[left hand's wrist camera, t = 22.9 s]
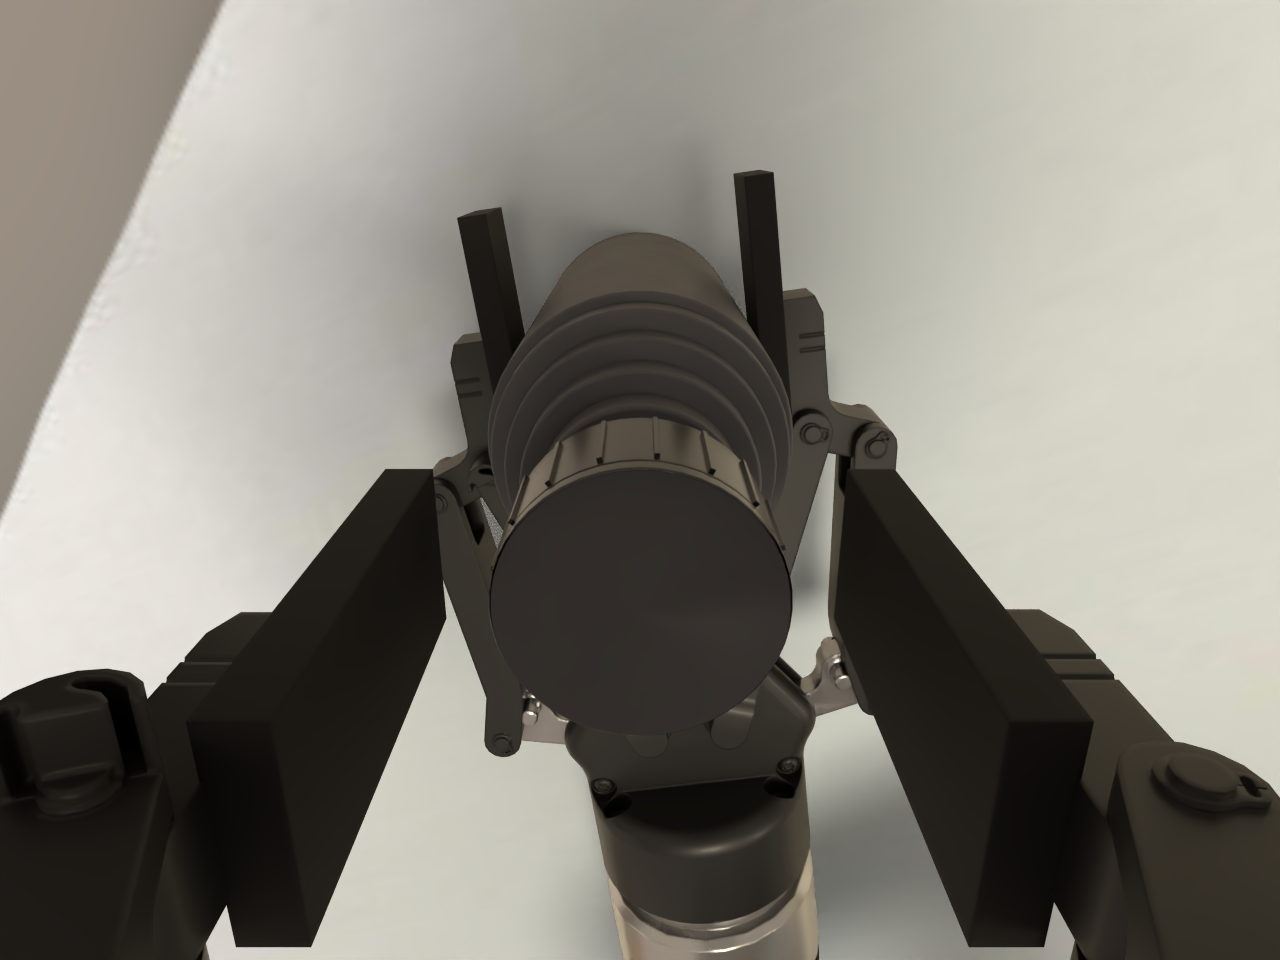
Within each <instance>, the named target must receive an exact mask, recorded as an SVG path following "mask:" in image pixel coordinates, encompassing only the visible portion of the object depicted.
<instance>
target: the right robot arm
mask: <svg viewBox="0 0 1280 960" xmlns="http://www.w3.org/2000/svg"><path fill="white" fill-rule="evenodd" d="M734 184H735V195H736V206H737V216H738V227H739V238H740V249H741V260H742V271H743V281H744V292H745V303H746V314H747V322H748V324H749V325H750V327H751V329H752V330H753V332H754V333H755V335H756V337H757V338H758V340H759V341H760V343H761V345H762V346H763V348H764V350H765V351H766V353H767V354H768V356H769V358H770V359H771V361H772V363H773V364H774V366H775V368H776V370H777V372H778V374H779V376H780V378H781V380H782V383H783V385H784V388H785V391H786V394H787V397H788V400H789V405H790V410H791V415H792V425H793V446H792V456H791V461H790V466H789V471H788V475H787V479H786V484H785V488H784V490H783V493H782V496H781V499H780V502H779V504H778V506H777V508H776V510H775V512H774V517H775V520H776V523H777V525H778V528H779V531H780V534H781V536H782V539H783V542H784V544H785V547H786V550H784V551H782V552H783V554H784V557H785V561H786V564H787V567H788V570H789V573H790V575H791V571H792V568H793V565H794V562H795V558H796V555H797V552H798V548H799V545H800V542H801V539H802V535H803V532H804V529H805V526H806V522H807V519H808V516H809V513H810V509H811V506H812V503H813V500H814V496H815V493H816V490H817V487H818V483H819V480H820V477H821V474H822V470H823V467H824V464H825V461H826V457H827V454H828V453H832V454H836V465H835V483H834V502H833V520H832V539H831V557H830V576H829V594H828V617H829V624H830V629H831V632H832V635H833V637H827V638H825V639H823V640H822V642H821V646H820V647H819V648H818V650H817V653H816V666H815V669H814V670H813V672H812V673H811V674H810V675H808V676H806V677H804V678H802V677H801V676H800V675H799V674H798V673H797V672H795V671H794V670H793V669H792V668H791V667H790V666H789V665H788V664H787V663H786V662H785V661H784V660H783V659H782V658H781V657H780V656H779V658H778V660H777V661H776V663H775V665H774V666H773V668H772V669H771V671H770V672H769V674H768V675H767V677H766V678H765V679H764V680H763V681H762V683H761V684H760V685H759V686H758V687H757V688H756V689H755V690H754V691H753V692H752V693H751V694H750V695H749V696H748V697H747V698H746V699H745V700H743V701H742V702H741V703H739V704H738V705H736V706H735V707H734V708H732V709H731V710H729V711H728V712H726V713H724V714H722V715H721V716H719V717H717V718H715V719H713V720H711V721H709V722H706V723H704V724H701V725H699V726H696V727H693V728H690V729H686V730H683V731H679V732H674V733H668V734H662V735H648V736H633V735H620V734H614V733H608V732H602V731H599V730H595V729H592V728H588V727H585V726H583V725H580V724H578V723H575V722H573V721H570V720H568V719H566V718H564V717H563V716H561V715H559V714H557V713H555V712H553V711H552V710H551V709H549V708H548V707H546V706H545V705H544V704H542V703H541V702H539V701H538V700H537V699H536V698H535V697H534V696H533V695H531V694H530V693H529V692H528V691H527V690H526V689H525V688H524V687H523V686H522V684H521V683H520V682H519V681H518V680H517V679H516V677H515V676H514V675H513V673H512V672H511V670H510V669H509V667H508V666H507V664H506V662H505V661H504V659H503V657H502V655H501V653H500V650H499V648H498V646H497V644H496V641H495V637H494V634H493V631H492V627H491V621H490V614H489V588H490V582H491V575H492V572H493V571H490V569H491V565H492V562H493V559H494V556H495V554H496V551H497V548H496V545H495V542H494V539H493V536H492V533H491V530H490V527H489V524H488V521H487V518H486V515H485V512H484V509H483V506H482V503H481V501H480V498H481V497H482V498H483V499H484V501H485V503H486V504H487V506H488V507H489V509H490V510H491V512H492V514H493V515H494V517H495V518H496V520H497V521H498V523H499V525H500V526H501V528H502V529H503V531H504V528H505V526H506V523H507V520H508V518H509V516H508V514H507V512H506V510H505V508H504V506H503V504H502V502H501V499H500V496H499V493H498V490H497V488H496V485H495V480H494V475H493V472H492V466H491V461H490V456H489V447H488V425H489V414H490V409H491V405H492V400H493V396H494V393H495V391H496V388H497V385H498V383H499V380H500V378H501V376H502V374H503V372H504V370H505V368H506V366H507V365H508V363H509V361H510V359H511V358H512V356H513V354H514V353H515V351H516V349H517V348H518V346H519V345H520V343H521V341H522V340H523V338H524V336H525V333H524V328H523V323H522V317H521V312H520V307H519V301H518V296H517V290H516V285H515V280H514V274H513V269H512V263H511V258H510V253H509V247H508V242H507V236H506V231H505V226H504V220H503V215H502V209H501V207H499V208H493V209H486V210H479V211H474V212H472V213H469V214H466V215H464V216H461V217H458V218H457V220H458V224H459V229H460V234H461V239H462V244H463V249H464V254H465V259H466V264H467V269H468V274H469V278H470V283H471V288H472V293H473V298H474V303H475V308H476V313H477V318H478V323H479V328H480V333H473V334H466V335H463V336H462V337H461V338H460V339H459V340H458V341H457V342H456V343H455V344H454V346H453V352H452V357H451V368H452V372H453V377H454V381H455V386H456V391H457V395H458V400H459V404H460V409H461V413H462V418H463V423H464V427H465V432H466V436H467V442H468V449H466V450H465V451H463V452H461V453H459V454H458V455H456V456H454V457H446V458H444V459H442V460H440V461H439V462H438V463H437V464H436V465H435V467H434V469H433V476H434V487H435V498H436V510H437V521H438V532H439V543H440V554H441V565H442V576H443V581H444V583H445V586H446V589H447V592H448V594H449V597H450V600H451V602H452V605H453V608H454V611H455V613H456V616H457V619H458V621H459V624H460V627H461V630H462V632H463V635H464V638H465V641H466V643H467V646H468V649H469V651H470V654H471V657H472V660H473V662H474V665H475V668H476V671H477V673H478V676H479V679H480V681H481V684H482V687H483V690H484V692H485V695H486V698H487V700H486V719H485V738H484V741H485V746H486V748H487V749H488V751H489V752H491V753H492V754H494V755H496V756H500V757H509V756H511V755H513V754H515V753H516V752H517V751H518V750H519V748H520V745H521V740H523V741H534V742H545V743H557V744H565V745H566V748H567V750H568V752H569V754H570V755H571V757H572V758H573V759H574V760H575V761H576V762H577V763H578V764H579V765H580V766H581V767H582V769H583V770H584V772H585V774H586V776H587V779H588V783H589V788H590V793H591V798H592V803H593V808H594V813H595V818H596V823H597V828H598V833H599V838H600V843H601V848H602V853H603V859H604V864H605V868H606V870H607V873H608V886H609V891H610V895H611V900H612V905H613V910H614V915H615V919H616V924H617V929H618V934H619V939H620V944H621V948H622V953H623V958H624V960H819V945H818V938H819V930H818V919H817V908H816V898H815V887H814V877H813V866H812V856H811V851H810V829H809V817H808V805H807V793H806V782H805V770H804V758H803V752H804V746H805V743H806V741H807V739H808V737H809V735H810V733H811V732H812V730H813V727H814V725H815V719H816V716H820V715H823V714H826V713H829V712H832V711H835V710H838V709H841V708H844V707H847V706H850V705H854V704H857V703H858V704H859V706H860V708H861V709H862V711H863V712H865V713H866V714H868V715H873V713H872V710H871V708H870V706H869V703H868V701H867V698H866V696H865V693H864V691H863V689H862V686H861V684H860V681H859V679H858V676H857V674H856V672H855V669H854V667H853V664H852V662H851V659H850V657H849V655H848V652H847V650H846V647H845V645H844V642H843V640H842V638H841V635H840V633H839V630H838V628H837V625H836V623H835V621H834V609H835V598H836V587H837V576H838V565H839V554H840V543H841V532H842V521H843V510H844V498H845V487H846V476H847V469H895V470H896V458H897V439H896V437H895V436H894V434H893V433H892V432H891V430H890V429H889V428H888V427H887V426H886V425H885V424H884V423H883V421H882V420H881V419H880V418H879V417H878V416H877V415H876V414H875V412H874V411H873V410H872V409H871V408H869V407H868V406H866V405H861V404H856V405H846V404H841V403H837V402H834V401H831V400H830V399H829V395H828V383H827V367H826V350H825V335H824V318H823V311H822V309H821V307H820V305H819V303H818V301H817V299H816V297H815V295H813V294H812V293H811V292H810V291H809V290H807V289H806V288H803V289H796V290H788V291H783V290H782V277H781V264H780V251H779V238H778V225H777V212H776V199H775V186H774V173H773V172H768V171H763V170H756V171H749V172H742V173H735V174H734ZM873 716H874V715H873Z"/></svg>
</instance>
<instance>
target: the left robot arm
mask: <svg viewBox="0 0 1280 960" xmlns="http://www.w3.org/2000/svg"><path fill="white" fill-rule="evenodd" d="M445 620H446V609H445V598H444V587H443V576H442V565H441V554H440V543H439V532H438V521H437V510H436V498H435V487H434V476H433V469H385V470H384V472H383V473H382V474H381V476H380V477H379V478H378V479H377V481H376V482H375V483H374V484H373V486H372V487H371V488H370V489H369V491H368V492H367V493H366V494H365V496H364V497H363V498H362V499H361V501H360V502H359V503H358V505H357V506H356V507H355V508H354V510H353V511H352V512H351V513H350V515H349V516H348V517H347V518H346V520H345V521H344V522H343V523H342V525H341V526H340V527H339V529H338V530H337V531H336V532H335V534H334V535H333V536H332V537H331V539H330V540H329V541H328V542H327V544H326V545H325V546H324V547H323V549H322V550H321V551H320V552H319V554H318V555H317V556H316V558H315V559H314V560H313V561H312V563H311V564H310V565H309V566H308V568H307V569H306V570H305V571H304V573H303V574H302V575H301V576H300V578H299V579H298V580H297V582H296V583H295V584H294V585H293V587H292V588H291V589H290V590H289V592H288V593H287V594H286V595H285V597H284V598H283V599H282V600H281V602H280V603H279V604H278V606H277V607H276V608H275V609H274V611H273V612H241V613H239V614H237V615H236V616H234V617H232V618H231V619H229V620H227V621H226V622H224V623H222V624H221V625H219V626H217V627H216V628H214V629H212V630H211V631H209V632H208V633H206V634H205V635H204V636H203V638H202V639H201V640H200V641H199V642H198V643H197V644H196V645H195V647H194V648H193V649H192V650H191V651H190V652H189V653H188V654H187V655H186V657H185V661H184V662H180V663H179V664H178V666H177V667H176V668H175V669H174V670H173V671H172V672H171V673H170V674H169V676H168V677H167V681H166V683H161V685H160V686H159V687H158V688H157V689H156V690H155V691H154V692H153V694H152V695H151V696H150V697H149V698H148V699H147V696H146V691H145V687H144V683H143V681H141V680H140V679H138V678H137V677H136V676H134V675H133V674H131V673H130V672H124V671H118V670H112V669H96V670H83V671H75V672H71V673H67V674H63V675H59V676H55V677H51V678H47V679H44V680H41V681H39V682H36V683H34V684H32V685H29V686H27V687H24V688H22V689H19V690H17V691H14V692H13V693H11V694H9V695H8V696H6V697H5V698H3V699H1V700H0V960H210V959H209V955H208V951H207V947H206V942H207V940H208V938H209V936H210V934H211V932H212V931H213V929H214V927H215V925H216V923H217V921H218V920H219V918H220V916H221V914H222V912H223V910H224V909H225V907H226V905H227V909H228V913H229V918H230V922H231V927H232V931H233V936H234V940H235V945H236V947H311V946H312V944H313V941H314V939H315V936H316V934H317V931H318V929H319V927H320V924H321V922H322V919H323V917H324V914H325V912H326V910H327V907H328V905H329V902H330V900H331V897H332V895H333V893H334V890H335V888H336V885H337V883H338V880H339V878H340V876H341V873H342V871H343V868H344V866H345V863H346V861H347V859H348V856H349V854H350V851H351V849H352V846H353V844H354V842H355V839H356V837H357V834H358V832H359V829H360V827H361V825H362V822H363V820H364V817H365V815H366V812H367V810H368V808H369V805H370V803H371V800H372V798H373V795H374V793H375V791H376V788H377V786H378V783H379V781H380V778H381V776H382V774H383V771H384V769H385V766H386V764H387V761H388V759H389V757H390V754H391V752H392V749H393V747H394V744H395V742H396V740H397V737H398V735H399V732H400V730H401V727H402V725H403V723H404V720H405V718H406V715H407V713H408V710H409V708H410V706H411V703H412V701H413V698H414V696H415V693H416V691H417V689H418V686H419V684H420V681H421V679H422V676H423V674H424V672H425V669H426V667H427V664H428V662H429V659H430V657H431V655H432V652H433V650H434V647H435V645H436V642H437V640H438V638H439V635H440V633H441V630H442V628H443V625H444V623H445ZM834 621H835V623H836V625H837V628H838V630H839V633H840V635H841V638H842V640H843V642H844V645H845V647H846V650H847V652H848V655H849V657H850V659H851V662H852V664H853V667H854V669H855V672H856V674H857V676H858V679H859V681H860V684H861V686H862V689H863V691H864V693H865V696H866V698H867V701H868V703H869V706H870V708H871V710H872V713H873V715H874V718H875V720H876V723H877V725H878V727H879V730H880V732H881V735H882V737H883V740H884V742H885V744H886V747H887V749H888V752H889V754H890V757H891V759H892V761H893V764H894V766H895V769H896V771H897V774H898V776H899V778H900V781H901V783H902V786H903V788H904V791H905V793H906V795H907V798H908V800H909V803H910V805H911V808H912V810H913V812H914V815H915V817H916V820H917V822H918V825H919V827H920V829H921V832H922V834H923V837H924V839H925V842H926V844H927V846H928V849H929V851H930V854H931V856H932V859H933V861H934V863H935V866H936V868H937V871H938V873H939V876H940V878H941V880H942V883H943V885H944V888H945V890H946V893H947V895H948V897H949V900H950V902H951V905H952V907H953V910H954V912H955V914H956V917H957V919H958V922H959V924H960V927H961V929H962V931H963V934H964V936H965V939H966V941H967V944H968V946H969V947H1044V945H1045V940H1046V936H1047V931H1048V927H1049V922H1050V918H1051V913H1052V909H1053V904H1054V902H1055V904H1056V906H1057V908H1058V910H1059V911H1060V913H1061V915H1062V917H1063V919H1064V920H1065V922H1066V924H1067V926H1068V928H1069V930H1070V931H1071V933H1072V935H1073V937H1074V939H1075V942H1074V947H1073V951H1072V955H1071V959H1070V960H1280V797H1279V796H1278V795H1277V794H1276V792H1275V791H1274V790H1273V788H1272V787H1271V786H1270V785H1269V784H1268V783H1267V782H1266V781H1264V780H1263V779H1262V778H1260V777H1259V776H1258V775H1256V774H1255V773H1253V772H1252V771H1251V770H1249V769H1248V768H1247V767H1245V766H1244V765H1242V764H1240V763H1237V762H1235V761H1233V760H1231V759H1229V758H1227V757H1225V756H1223V755H1221V754H1218V753H1216V752H1214V751H1211V750H1207V749H1204V748H1200V747H1197V746H1193V745H1190V744H1186V743H1181V742H1174V741H1173V739H1172V738H1171V737H1170V736H1169V735H1168V734H1167V733H1166V732H1165V731H1164V729H1163V728H1162V727H1161V726H1160V725H1159V724H1158V723H1157V722H1156V721H1155V719H1154V718H1153V717H1152V716H1151V715H1150V714H1149V713H1148V712H1147V711H1146V709H1145V708H1144V707H1143V706H1142V705H1141V704H1140V703H1139V702H1138V701H1137V700H1136V698H1135V697H1134V696H1133V695H1132V694H1131V693H1130V692H1129V691H1128V690H1127V688H1126V687H1125V686H1124V685H1123V684H1122V683H1121V682H1120V681H1119V680H1115V679H1114V674H1113V673H1112V672H1111V671H1110V670H1109V668H1108V667H1107V666H1106V665H1105V664H1104V663H1103V662H1102V661H1101V660H1100V659H1096V654H1095V653H1094V652H1093V651H1092V650H1091V648H1090V647H1089V646H1088V645H1087V644H1086V643H1085V642H1084V641H1083V640H1082V638H1081V637H1080V636H1079V635H1078V634H1077V633H1076V632H1075V631H1074V630H1073V629H1071V628H1070V627H1068V626H1066V625H1065V624H1063V623H1061V622H1060V621H1058V620H1056V619H1055V618H1053V617H1051V616H1050V615H1048V614H1046V613H1045V612H1043V611H1041V610H1039V609H1005V608H1004V607H1003V606H1002V604H1001V603H1000V602H999V600H998V599H997V598H996V597H995V595H994V594H993V593H992V592H991V590H990V589H989V588H988V587H987V585H986V584H985V583H984V582H983V580H982V579H981V578H980V576H979V575H978V574H977V573H976V571H975V570H974V569H973V568H972V566H971V565H970V564H969V563H968V561H967V560H966V559H965V558H964V556H963V555H962V554H961V552H960V551H959V550H958V549H957V547H956V546H955V545H954V544H953V542H952V541H951V540H950V539H949V537H948V536H947V535H946V534H945V532H944V531H943V530H942V529H941V527H940V526H939V525H938V523H937V522H936V521H935V520H934V518H933V517H932V516H931V515H930V513H929V512H928V511H927V510H926V508H925V507H924V506H923V505H922V503H921V502H920V501H919V499H918V498H917V497H916V496H915V494H914V493H913V492H912V491H911V489H910V488H909V487H908V486H907V484H906V483H905V482H904V481H903V479H902V478H901V477H900V476H899V474H898V473H897V472H896V470H895V469H847V476H846V487H845V498H844V510H843V521H842V532H841V543H840V554H839V565H838V576H837V587H836V598H835V609H834Z"/></svg>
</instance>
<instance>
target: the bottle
mask: <svg viewBox="0 0 1280 960" xmlns="http://www.w3.org/2000/svg"><path fill="white" fill-rule="evenodd" d="M653 416H654V417H658V419H662V420H668V421H673V422H677V423H680V424H683V425H686V426H689V427H693V428H695V429H697V430H699V431H701V432H702V430H704V431H706V432H707V433H708V435H709V436H711V437H712V438H714V439H715V440H717V441H718V442H720V443H722V444H723V445H724V446H725V447H727V448H728V449H729V450H730V451H731V452H732V453H734V454H735V455H736V456H737V457H738V458H739V460H740V461H741V460H742V459H744V461H745V462H746V464H747V467H748V470H749V472H750V473H751V475H752V476H753V478H754V479H755V481H756V483H757V485H758V487H759V489H760V491H761V493H762V495H763V498H764V500H767V499H768V501H769V503H770V506H771V509H772V512H773V514H774V512H775V510H776V508H777V506H778V504H779V502H780V499H781V496H782V493H783V490H784V488H785V484H786V479H787V475H788V471H789V466H790V461H791V456H792V446H793V425H792V415H791V410H790V405H789V400H788V397H787V394H786V391H785V388H784V385H783V383H782V380H781V378H780V376H779V374H778V372H777V370H776V368H775V366H774V364H773V363H772V361H771V359H770V358H769V356H768V354H767V353H766V351H765V350H764V348H763V346H762V345H761V343H760V341H759V340H758V338H757V337H756V335H755V333H754V332H753V330H752V329H751V327H750V325H749V324H748V322H747V320H746V319H745V317H744V316H743V314H742V312H741V311H740V309H739V307H738V306H737V304H736V303H735V301H734V299H733V298H732V296H731V295H730V293H729V291H728V290H727V288H726V286H725V285H724V283H723V282H722V280H721V278H720V277H719V275H718V274H717V273H716V271H715V270H714V268H713V267H712V266H711V265H710V264H709V263H708V262H707V261H706V259H705V258H704V257H702V256H701V255H700V254H699V253H697V252H696V251H695V250H694V249H692V248H690V247H689V246H687V245H685V244H684V243H682V242H679V241H677V240H675V239H673V238H670V237H666V236H662V235H658V234H651V233H629V234H622V235H618V236H615V237H611V238H608V239H606V240H603V241H601V242H599V243H597V244H595V245H593V246H592V247H590V248H588V249H587V250H586V251H584V252H583V253H582V254H581V255H579V256H578V257H577V258H576V259H575V260H574V261H573V262H572V263H571V264H570V265H569V267H568V268H567V269H566V271H565V272H564V273H563V275H562V276H561V278H560V279H559V281H558V283H557V284H556V286H555V288H554V289H553V291H552V292H551V294H550V296H549V297H548V299H547V301H546V302H545V304H544V305H543V307H542V309H541V310H540V312H539V314H538V315H537V317H536V318H535V320H534V322H533V323H532V325H531V327H530V328H529V330H528V332H527V333H526V335H525V336H524V338H523V340H522V341H521V343H520V345H519V346H518V348H517V349H516V351H515V353H514V354H513V356H512V358H511V359H510V361H509V363H508V365H507V366H506V368H505V370H504V372H503V374H502V376H501V378H500V380H499V383H498V385H497V388H496V391H495V393H494V396H493V400H492V405H491V409H490V414H489V425H488V447H489V456H490V461H491V466H492V472H493V475H494V480H495V485H496V488H497V490H498V493H499V496H500V499H501V502H502V504H503V506H504V508H505V510H506V512H507V514H508V516H509V517H510V514H511V512H512V509H513V506H514V503H515V500H516V497H517V495H518V492H519V489H520V486H521V483H522V480H523V478H524V477H525V475H526V476H528V477H529V475H530V474H531V472H532V471H533V469H534V468H535V467H536V466H537V464H538V463H539V462H540V461H541V460H542V459H543V458H544V456H545V455H547V454H548V453H549V452H550V451H551V450H552V449H554V448H555V444H556V443H557V442H558V441H560V442H563V441H564V440H566V439H567V438H569V437H571V436H572V435H574V434H576V433H578V432H580V431H582V430H584V429H587V428H589V427H592V426H595V425H598V424H601V421H604V420H606V421H607V422H609V421H614V420H619V419H627V418H653Z"/></svg>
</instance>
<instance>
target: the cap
mask: <svg viewBox="0 0 1280 960" xmlns="http://www.w3.org/2000/svg"><path fill="white" fill-rule="evenodd" d="M784 550H786V547H785V544H784V542H783V539H782V536H781V534H780V531H779V528H778V525H777V523H776V520H775V517H774V514H773V512H772V509H771V506H770V503H769V501H768V499H767V500H764V498H763V495H762V493H761V491H760V489H759V487H758V485H757V483H756V481H755V479H754V478H753V476H752V475H751V473H750V472H749V470H748V467H747V464H746V462H745V461H744V459H742V460H741V461H740V460H739V458H738V457H737V456H736V455H735V454H734V453H732V452H731V451H730V450H729V449H728V448H727V447H725V446H724V445H723V444H722V443H720V442H718V441H717V440H715V439H714V438H712V437H711V436H709V435H708V433H707V432H706V431H704V430H702V432H701V431H699V430H697V429H695V428H693V427H689V426H686V425H683V424H680V423H677V422H673V421H668V420H662V419H658V417H654V416H653V418H627V419H619V420H614V421H609V422H607V421H606V420H604V421H601V424H598V425H595V426H592V427H589V428H587V429H584V430H582V431H580V432H578V433H576V434H574V435H572V436H571V437H569V438H567V439H566V440H564V441H563V442H560V441H558V442H557V443H556V444H555V448H554V449H552V450H551V451H550V452H549V453H548V454H547V455H545V456H544V458H543V459H542V460H541V461H540V462H539V463H538V464H537V466H536V467H535V468H534V469H533V471H532V472H531V474H530V475H529V477H528V476H526V475H525V477H524V478H523V480H522V483H521V486H520V489H519V492H518V495H517V497H516V500H515V503H514V506H513V509H512V512H511V514H510V517H509V518H508V520H507V523H506V526H505V528H504V531H503V534H502V537H501V540H500V542H499V545H498V548H497V551H496V554H495V556H494V559H493V562H492V565H491V569H490V571H493V572H492V575H491V582H490V588H489V614H490V621H491V627H492V631H493V634H494V637H495V641H496V644H497V646H498V648H499V650H500V653H501V655H502V657H503V659H504V661H505V662H506V664H507V666H508V667H509V669H510V670H511V672H512V673H513V675H514V676H515V677H516V679H517V680H518V681H519V682H520V683H521V684H522V686H523V687H524V688H525V689H526V690H527V691H528V692H529V693H530V694H531V695H533V696H534V697H535V698H536V699H537V700H538V701H539V702H541V703H542V704H544V705H545V706H546V707H548V708H549V709H551V710H552V711H553V712H555V713H557V714H559V715H561V716H563V717H564V718H566V719H568V720H570V721H573V722H575V723H578V724H580V725H583V726H585V727H588V728H592V729H595V730H599V731H602V732H608V733H614V734H620V735H633V736H648V735H662V734H668V733H674V732H679V731H683V730H686V729H690V728H693V727H696V726H699V725H701V724H704V723H706V722H709V721H711V720H713V719H715V718H717V717H719V716H721V715H722V714H724V713H726V712H728V711H729V710H731V709H732V708H734V707H735V706H736V705H738V704H739V703H741V702H742V701H743V700H745V699H746V698H747V697H748V696H749V695H750V694H751V693H752V692H753V691H754V690H755V689H756V688H757V687H758V686H759V685H760V684H761V683H762V681H763V680H764V679H765V678H766V677H767V675H768V674H769V672H770V671H771V669H772V668H773V666H774V665H775V663H776V661H777V660H778V658H779V656H780V653H781V651H782V649H783V647H784V645H785V642H786V639H787V635H788V632H789V628H790V623H791V616H792V609H793V601H792V585H791V579H790V573H789V570H788V567H787V564H786V561H785V557H784V554H783V552H782V551H784Z"/></svg>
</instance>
